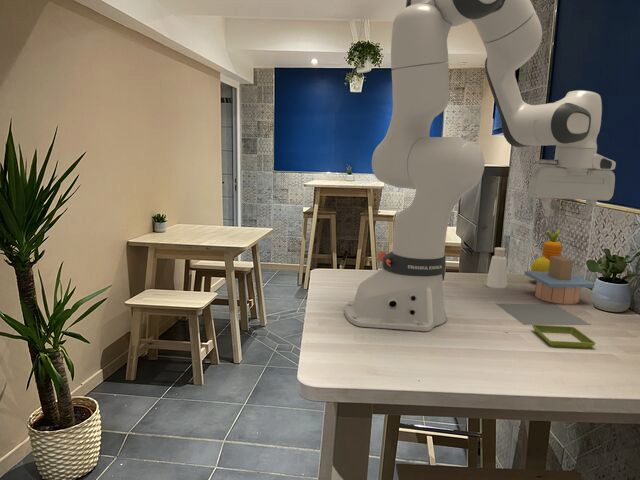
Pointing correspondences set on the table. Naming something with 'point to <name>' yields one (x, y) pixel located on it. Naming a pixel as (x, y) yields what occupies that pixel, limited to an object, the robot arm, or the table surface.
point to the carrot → (552, 246)
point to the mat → (542, 314)
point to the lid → (559, 274)
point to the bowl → (558, 294)
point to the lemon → (541, 265)
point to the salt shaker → (497, 270)
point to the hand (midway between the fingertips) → (566, 217)
